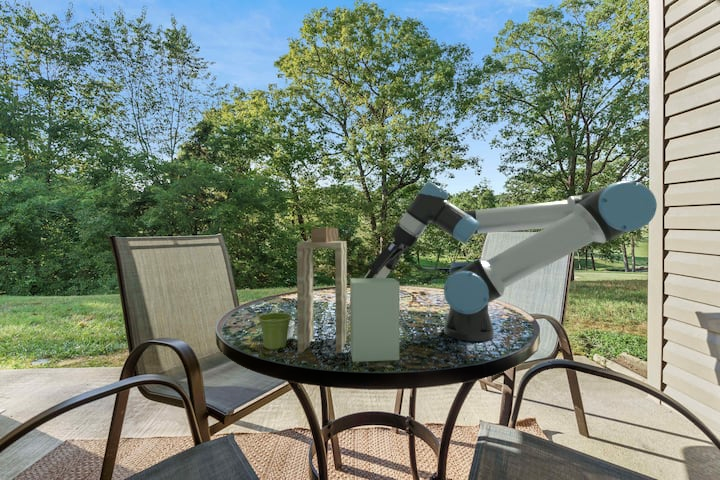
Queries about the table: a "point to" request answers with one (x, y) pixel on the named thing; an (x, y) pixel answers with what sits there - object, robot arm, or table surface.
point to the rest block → (374, 319)
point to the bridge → (307, 292)
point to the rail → (324, 234)
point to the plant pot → (275, 329)
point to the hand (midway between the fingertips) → (369, 286)
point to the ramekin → (290, 329)
